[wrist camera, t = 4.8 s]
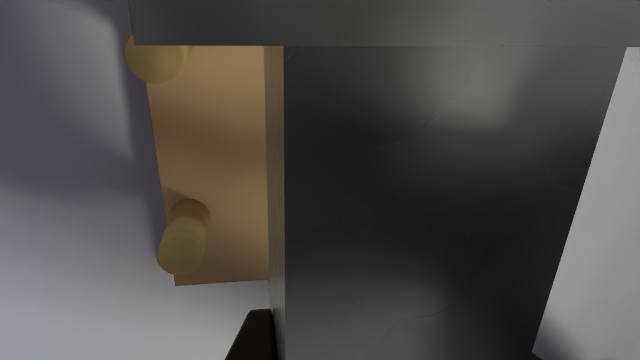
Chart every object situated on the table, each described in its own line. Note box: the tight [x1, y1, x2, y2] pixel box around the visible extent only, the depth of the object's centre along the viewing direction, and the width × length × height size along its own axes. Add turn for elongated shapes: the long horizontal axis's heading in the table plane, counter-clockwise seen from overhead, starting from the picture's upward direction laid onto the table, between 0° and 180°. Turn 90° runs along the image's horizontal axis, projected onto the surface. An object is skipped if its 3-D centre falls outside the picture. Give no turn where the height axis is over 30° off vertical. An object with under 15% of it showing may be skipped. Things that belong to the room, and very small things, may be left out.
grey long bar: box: [128, 0, 640, 360], centre depth 8 cm, size 19×5×4 cm, turn 178°
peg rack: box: [124, 34, 269, 286], centre depth 17 cm, size 14×9×4 cm, turn 179°
